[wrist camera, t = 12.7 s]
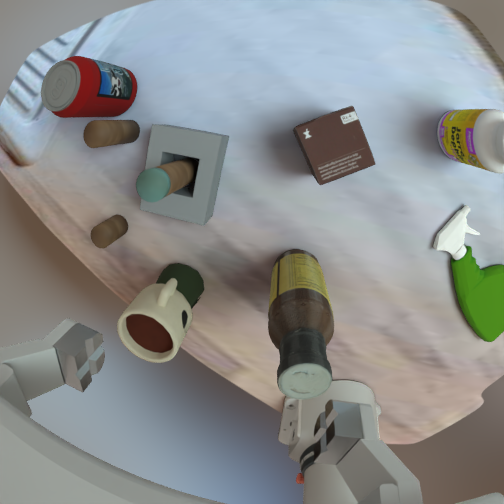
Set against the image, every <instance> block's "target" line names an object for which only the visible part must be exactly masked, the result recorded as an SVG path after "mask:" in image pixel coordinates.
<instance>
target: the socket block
mask: <svg viewBox="0 0 504 504" xmlns="http://www.w3.org/2000/svg"><path fill="white" fill-rule="evenodd" d="M228 139H229V136H226V135H221V134H216V133H211V132H206V131H201V130H195V129H189V128H183V127H177V126H171V125H152V130H151V135H150V141H149V147H148V153H147V159H146V166H145V170H147V169H150V168H154V167H157V166H160V165H164V164H167V163H171V162H173V159H174V154H178V155H184V156H189V157H194V158H198V159H200V161H199V166H198V171H197V176H196V182H195V187H194V189H192V188H187V187H182V188H181V189H179V190H177V191H175V192H173V193H171V194H170V195H168V196H166V197H164V198H163V199H161V200H159V201H157V202H147V201H145V200H143V199H142V198H141V204H140V210H143V211H147V212H152V213H156V214H160V215H164V216H167V217H171V218H175V219H179V220H183V221H187V222H191V223H195V224H199V225H203V226H204V225H205V224H206V222H207V221H208V220H209V219H210V218H211V217H212V215H213V210H214V205H215V200H216V195H217V190H218V185H219V180H220V176H221V171H222V166H223V162H224V157H225V153H226V148H227V144H228Z"/></svg>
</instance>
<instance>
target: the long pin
mask: <svg viewBox="0 0 504 504" xmlns="http://www.w3.org/2000/svg"><path fill="white" fill-rule="evenodd" d="M198 166H199V162H198V161H197V160H195V159H193V158H185V159H182V160H178V161H174V162H171V163H167V164H164V165H160V166H157V167H154V168H150V169H147V170H144V171H143V172H142V173H141V174H140V175H139V176H138V178H137V182H136V188H137V192H138V194H139V195H140V197H141V198H142V199H143V200H145V201H147V202H157V201H159V200H161V199H163V198H164V197H166V196H168V195H170V194H171V193H173V192H175V191H177V190H179V189H181V188H182V187H184V186H186V185H188V184H190V183H192V182H194V181H195V180H196V176H197V171H198Z"/></svg>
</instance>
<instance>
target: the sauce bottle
mask: <svg viewBox="0 0 504 504" xmlns="http://www.w3.org/2000/svg"><path fill="white" fill-rule="evenodd" d="M268 317H269V322H268V329H269V335H270V338H271V340H272V342H273V343H274V345H275V346H276V348H277V349H279V352H280V365H279V367H278V370H277V383H278V387H279V389H280V391H281V392H282V393H283V394H285V395H286V396H288V397H290V398H293V399H299V400H305V399H311V398H315V397H318V396H320V395H322V394H323V393H325V392H326V391H327V390H328V388H329V387H330V384H331V382H332V370H331V366H330V363H329V362H328V360H327V355H326V346H327V344H328V343H329V342H330V340H331V338H332V336H333V332H334V318H333V311H332V307H331V304H330V300H329V296H328V292H327V288H326V284H325V280H324V276H323V273H322V269H321V267H320V265H319V263H318V260H317V259H316V258H315V257H314V255H312V254H310V253H308V252H306V251H303V250H299V249H294V250H290V251H287V252H285V253H284V254H282V255H281V256H279V258H278V259H277V261H276V263H275V265H274V268H273V271H272V278H271V290H270V301H269V312H268Z"/></svg>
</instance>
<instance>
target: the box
mask: <svg viewBox="0 0 504 504" xmlns="http://www.w3.org/2000/svg"><path fill="white" fill-rule="evenodd" d="M293 131H294V134H295V136H296V138H297V140H298V143H299V145H300V147H301V150H302V152H303V154H304V157H305V159H306V161H307V163H308V166H309V168H310V170H311V172H312V174H313V176H314V178H315V179H316V181H317V182H318V183H319V185H323V184H326V183H328V182H331V181H334V180H336V179H339V178H341V177H344V176H347V175H349V174H352V173H354V172H357V171H360V170H362V169H365V168H368V167H370V166H373V165H375V161H374V158H373V155H372V152H371V150H370V147H369V144H368V142H367V139H366V137H365V134H364V131H363V129H362V127H361V124H360V122H359V119H358V117H357V114H356V112H355V109H354V107H353V106H349V107H346V108H343V109H341V110H338V111H335V112H332V113H330V114H327V115H324V116H321V117H319V118H316V119H313V120H311V121H308V122H306V123H303V124H300V125H298V126H296V127H295V128H294V129H293Z"/></svg>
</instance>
